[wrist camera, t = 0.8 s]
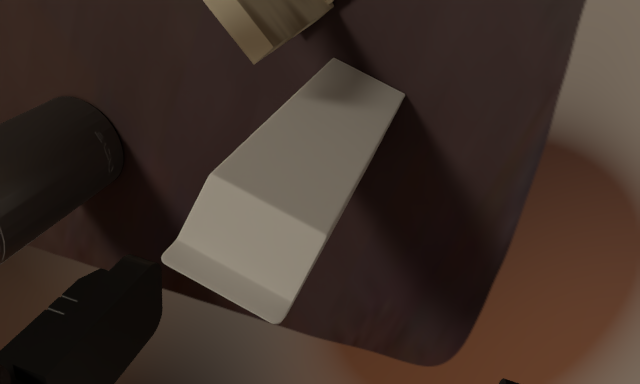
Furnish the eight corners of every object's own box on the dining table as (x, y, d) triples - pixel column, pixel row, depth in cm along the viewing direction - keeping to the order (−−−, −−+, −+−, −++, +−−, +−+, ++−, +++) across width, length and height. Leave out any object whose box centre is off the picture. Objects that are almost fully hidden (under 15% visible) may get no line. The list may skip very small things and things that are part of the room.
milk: (373, 157, 43) (260, 369, 25) (305, 122, 43) (144, 305, 25) (407, 91, 39) (304, 282, 21) (333, 53, 39) (169, 210, 21)
